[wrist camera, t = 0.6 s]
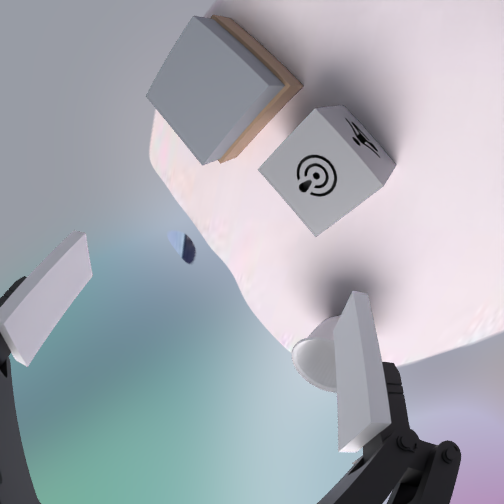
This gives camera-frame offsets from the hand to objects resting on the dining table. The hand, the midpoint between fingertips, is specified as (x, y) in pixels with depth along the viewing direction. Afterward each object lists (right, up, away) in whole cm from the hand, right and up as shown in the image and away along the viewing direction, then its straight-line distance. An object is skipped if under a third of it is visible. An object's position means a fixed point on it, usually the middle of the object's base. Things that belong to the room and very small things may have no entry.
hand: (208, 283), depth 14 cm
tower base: (-1, +26, +27) cm, 37 cm away
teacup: (+19, -10, +35) cm, 41 cm away
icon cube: (+14, +14, +24) cm, 31 cm away
